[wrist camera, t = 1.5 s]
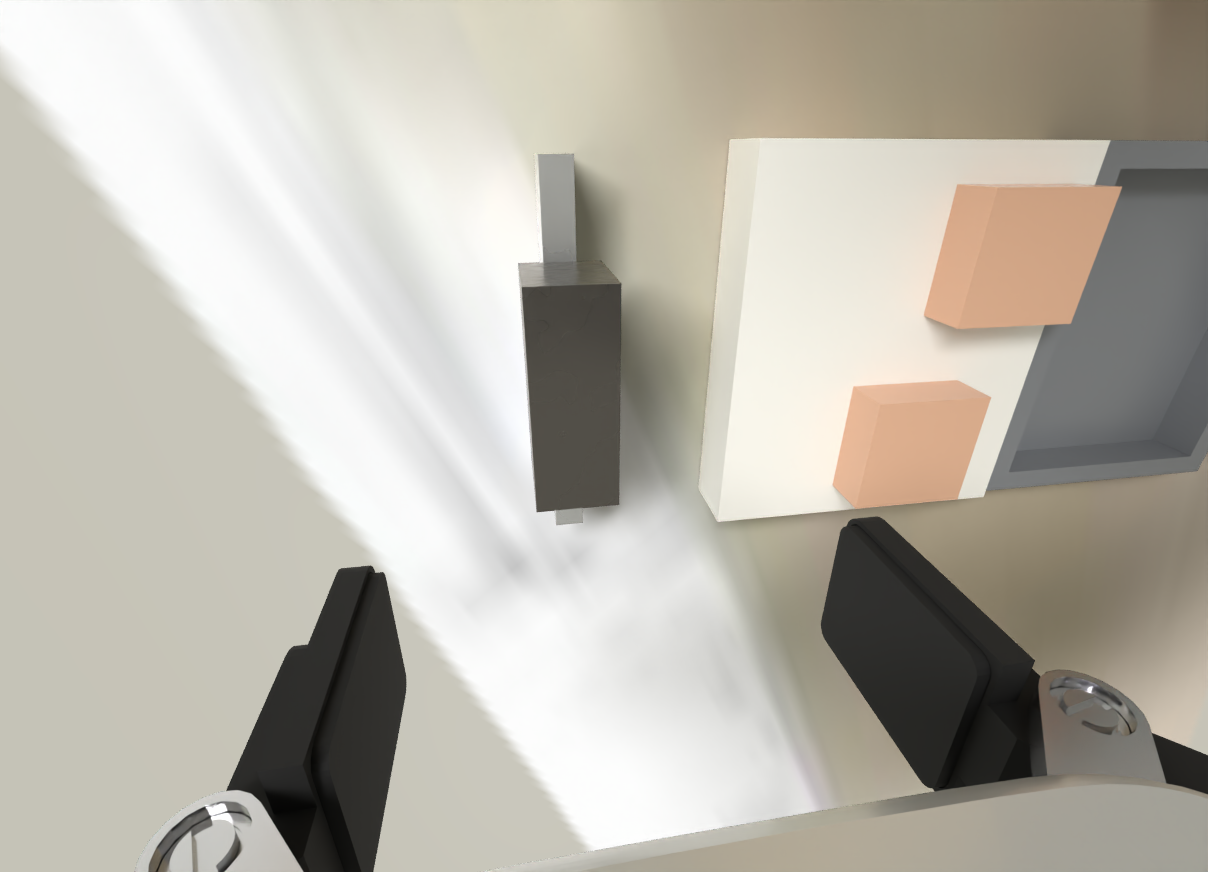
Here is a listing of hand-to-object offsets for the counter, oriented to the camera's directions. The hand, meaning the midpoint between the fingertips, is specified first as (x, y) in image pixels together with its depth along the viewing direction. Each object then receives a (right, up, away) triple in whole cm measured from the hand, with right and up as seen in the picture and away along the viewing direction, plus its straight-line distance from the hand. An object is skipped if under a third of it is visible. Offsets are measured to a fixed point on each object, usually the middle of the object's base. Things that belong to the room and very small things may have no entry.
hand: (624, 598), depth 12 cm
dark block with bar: (-2, +7, +13) cm, 16 cm away
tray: (+25, +9, +17) cm, 32 cm away
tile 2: (+15, +11, +11) cm, 22 cm away
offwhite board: (+11, +8, +15) cm, 21 cm away
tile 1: (+13, +3, +15) cm, 20 cm away
